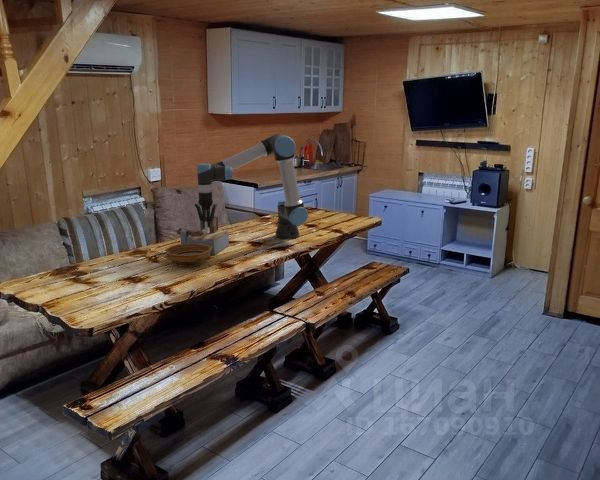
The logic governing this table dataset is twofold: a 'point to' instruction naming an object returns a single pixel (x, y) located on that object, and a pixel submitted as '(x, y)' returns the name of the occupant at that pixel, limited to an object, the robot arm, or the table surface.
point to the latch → (191, 232)
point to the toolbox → (207, 242)
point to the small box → (206, 219)
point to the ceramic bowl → (188, 253)
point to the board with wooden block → (211, 235)
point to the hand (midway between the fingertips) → (207, 232)
